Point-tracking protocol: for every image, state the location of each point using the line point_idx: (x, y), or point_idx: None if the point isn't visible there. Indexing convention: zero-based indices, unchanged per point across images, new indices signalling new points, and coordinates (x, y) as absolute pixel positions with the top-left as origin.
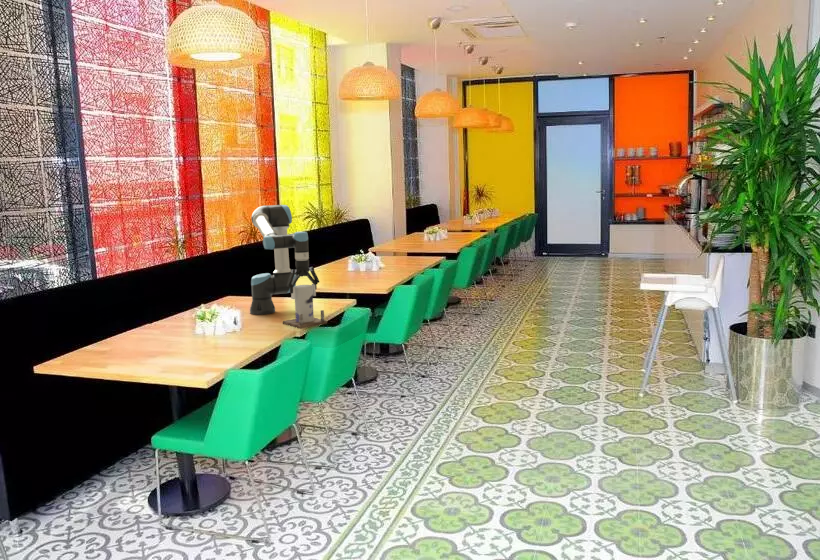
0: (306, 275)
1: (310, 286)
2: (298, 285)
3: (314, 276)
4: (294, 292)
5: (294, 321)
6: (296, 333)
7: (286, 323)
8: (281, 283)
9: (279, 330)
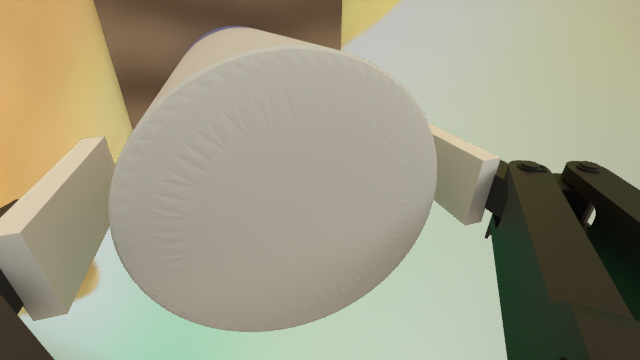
0: (550, 345)
1: (356, 296)
2: (262, 106)
3: (623, 299)
4: (91, 249)
5: (172, 54)
6: (98, 271)
7: (105, 28)
8: None
9: (3, 161)
